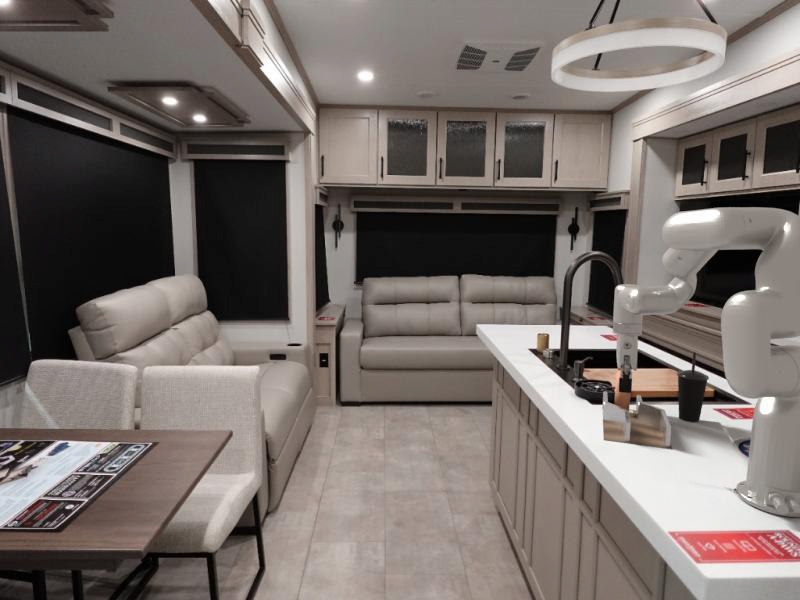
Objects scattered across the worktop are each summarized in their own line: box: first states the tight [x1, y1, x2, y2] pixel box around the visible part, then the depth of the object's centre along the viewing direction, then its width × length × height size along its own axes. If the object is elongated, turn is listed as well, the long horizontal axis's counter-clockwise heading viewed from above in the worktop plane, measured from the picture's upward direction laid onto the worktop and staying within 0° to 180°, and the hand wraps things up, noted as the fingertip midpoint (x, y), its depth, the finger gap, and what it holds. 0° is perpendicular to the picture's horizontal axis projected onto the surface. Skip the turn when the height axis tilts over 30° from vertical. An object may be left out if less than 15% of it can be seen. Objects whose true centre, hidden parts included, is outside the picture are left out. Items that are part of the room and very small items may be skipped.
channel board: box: [601, 405, 673, 450], centre depth 139 cm, size 26×16×1 cm, turn 159°
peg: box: [613, 369, 633, 410], centre depth 148 cm, size 4×4×12 cm
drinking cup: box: [676, 352, 710, 423], centre depth 143 cm, size 8×8×20 cm
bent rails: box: [602, 390, 672, 448], centre depth 139 cm, size 24×15×5 cm, turn 159°
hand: (624, 387), depth 148 cm, fingers open, 9 cm apart
